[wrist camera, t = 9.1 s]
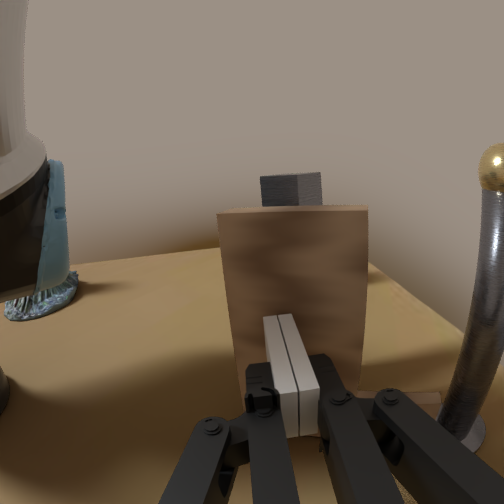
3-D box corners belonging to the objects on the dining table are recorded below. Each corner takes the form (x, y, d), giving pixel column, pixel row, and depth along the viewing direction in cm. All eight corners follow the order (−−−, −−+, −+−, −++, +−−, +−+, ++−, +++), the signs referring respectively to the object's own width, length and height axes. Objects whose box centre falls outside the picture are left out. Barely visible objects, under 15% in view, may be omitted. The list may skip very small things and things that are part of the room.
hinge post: (399, 443, 17) (440, 135, 11) (435, 399, 20) (468, 144, 15) (464, 474, 12) (555, 142, 7) (492, 421, 15) (550, 151, 10)
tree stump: (-14, 324, 40) (-27, 231, 39) (39, 307, 60) (27, 234, 59) (51, 319, 40) (35, 209, 40) (99, 300, 60) (87, 219, 60)
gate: (426, 422, 17) (469, 206, 13) (427, 441, 16) (481, 213, 11) (255, 407, 23) (231, 208, 18) (245, 424, 21) (216, 213, 17)
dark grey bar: (345, 378, 25) (348, 171, 21) (310, 419, 21) (305, 175, 16) (292, 360, 29) (280, 173, 24) (252, 393, 25) (228, 179, 20)
